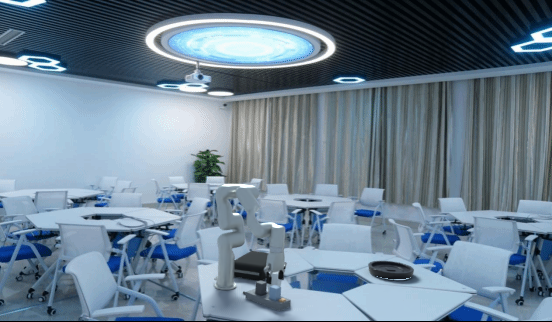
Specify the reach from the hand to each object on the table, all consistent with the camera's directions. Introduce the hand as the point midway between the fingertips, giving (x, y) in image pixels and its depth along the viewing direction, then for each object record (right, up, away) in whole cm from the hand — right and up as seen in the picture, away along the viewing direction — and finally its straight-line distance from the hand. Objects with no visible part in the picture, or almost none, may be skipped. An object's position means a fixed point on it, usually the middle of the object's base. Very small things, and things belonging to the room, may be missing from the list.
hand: (274, 281), depth 204 cm
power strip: (-6, -12, +5) cm, 14 cm away
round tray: (+79, -15, +63) cm, 102 cm away
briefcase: (-10, -12, +54) cm, 57 cm away
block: (0, -11, 0) cm, 11 cm away
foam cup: (-1, -12, +16) cm, 20 cm away
